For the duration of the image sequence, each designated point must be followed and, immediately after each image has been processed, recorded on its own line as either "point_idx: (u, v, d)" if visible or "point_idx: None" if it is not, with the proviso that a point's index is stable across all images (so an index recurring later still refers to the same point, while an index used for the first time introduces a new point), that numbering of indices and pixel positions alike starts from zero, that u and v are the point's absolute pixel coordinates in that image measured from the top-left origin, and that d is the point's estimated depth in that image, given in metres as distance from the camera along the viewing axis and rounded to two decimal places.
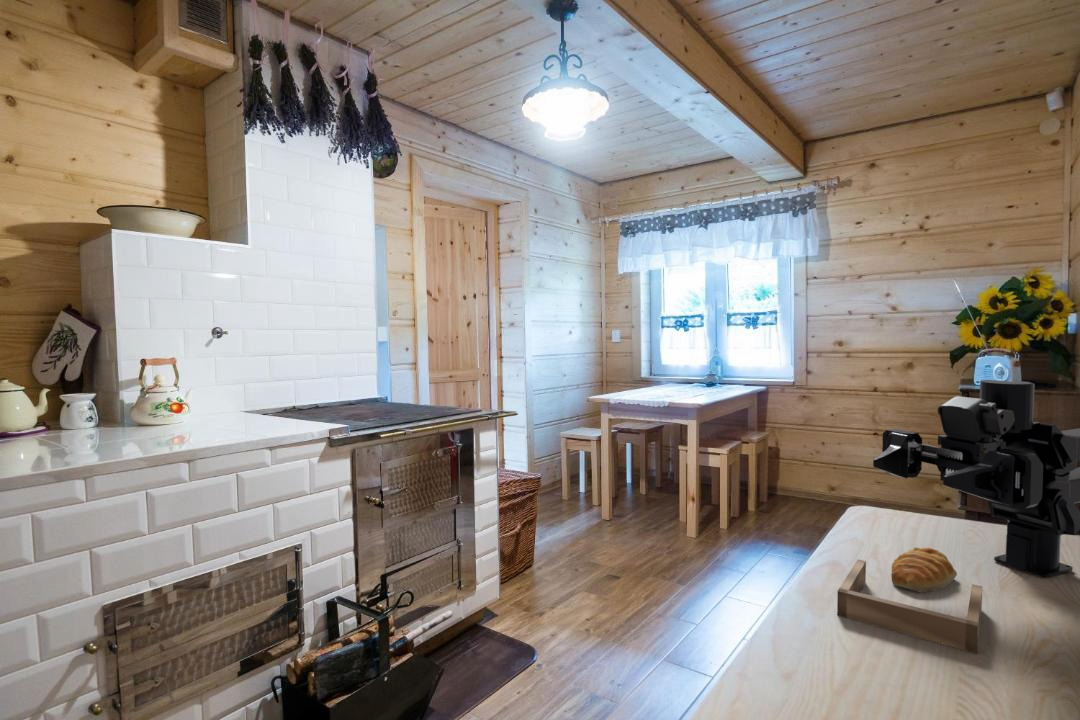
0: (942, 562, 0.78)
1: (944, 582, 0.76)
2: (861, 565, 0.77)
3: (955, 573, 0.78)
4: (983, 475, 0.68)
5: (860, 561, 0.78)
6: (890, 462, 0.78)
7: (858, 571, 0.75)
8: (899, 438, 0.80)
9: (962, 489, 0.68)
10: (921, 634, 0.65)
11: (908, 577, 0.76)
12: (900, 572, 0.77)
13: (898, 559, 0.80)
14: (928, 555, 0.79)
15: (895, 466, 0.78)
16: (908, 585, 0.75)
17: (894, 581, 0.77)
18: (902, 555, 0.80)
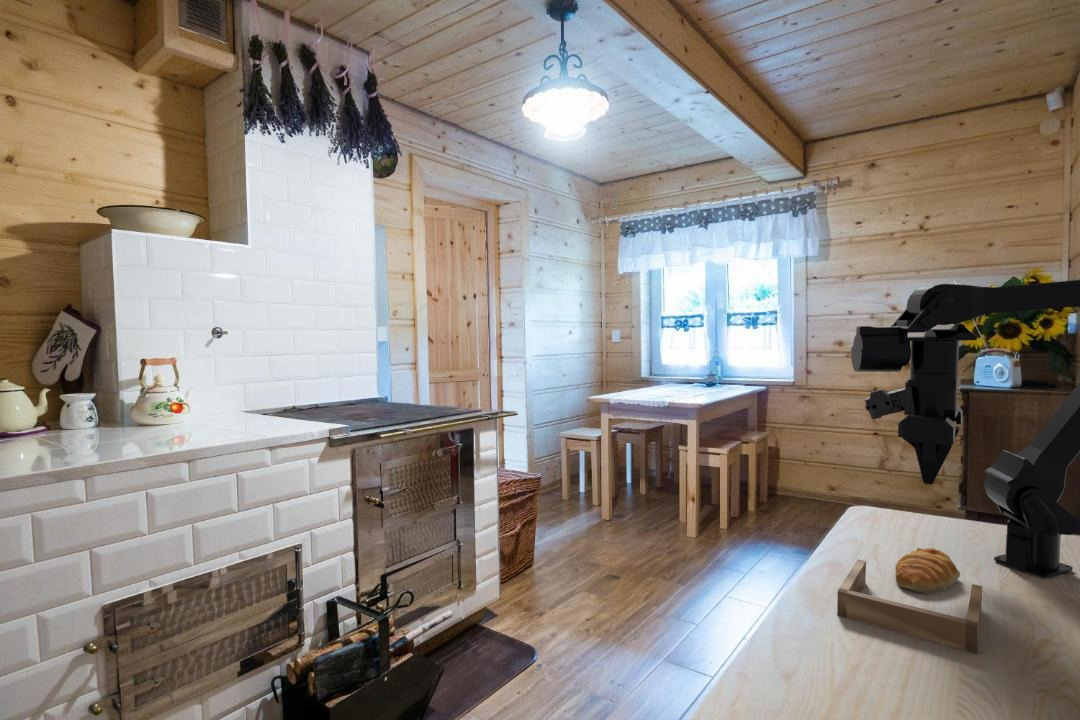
0: (946, 563, 0.77)
1: (948, 583, 0.76)
2: (861, 565, 0.77)
3: (958, 573, 0.78)
4: (924, 450, 0.81)
5: (860, 561, 0.78)
6: None
7: (858, 571, 0.75)
8: None
9: (936, 472, 0.81)
10: (921, 634, 0.65)
11: (913, 578, 0.75)
12: (905, 573, 0.77)
13: (902, 560, 0.80)
14: (932, 556, 0.79)
15: None
16: (913, 587, 0.75)
17: (899, 582, 0.77)
18: (906, 556, 0.80)
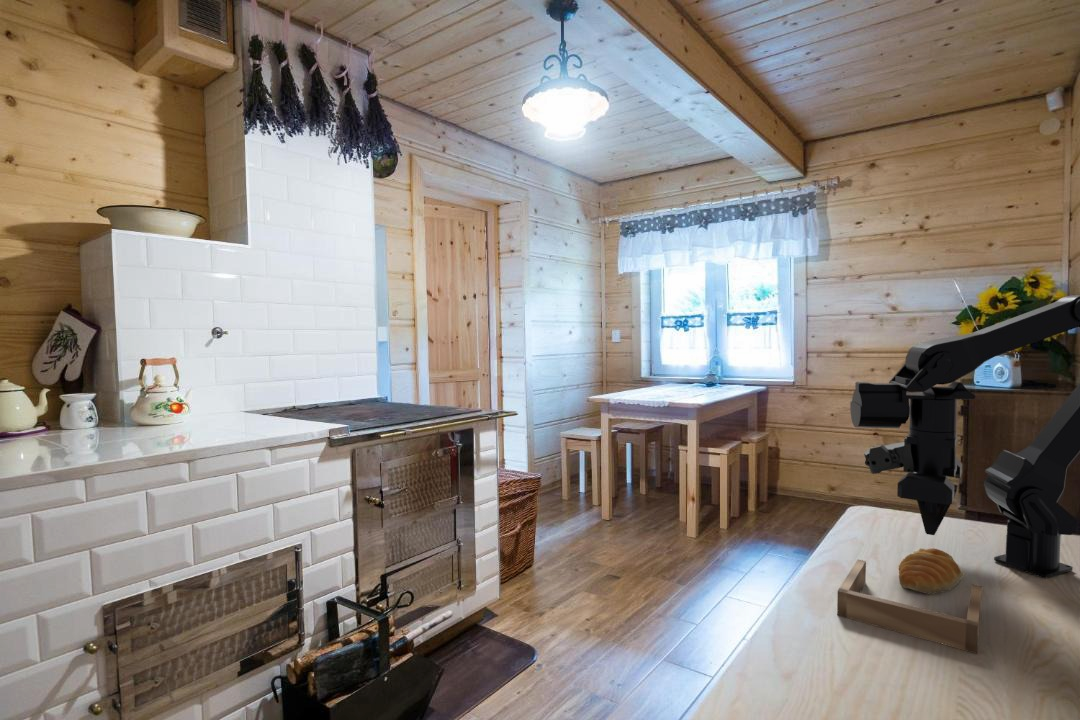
0: (949, 563, 0.77)
1: (952, 583, 0.76)
2: (861, 565, 0.77)
3: (962, 574, 0.78)
4: (926, 503, 0.84)
5: (860, 561, 0.78)
6: None
7: (858, 571, 0.75)
8: None
9: (938, 524, 0.84)
10: (921, 634, 0.65)
11: (917, 579, 0.75)
12: (908, 574, 0.76)
13: (905, 561, 0.80)
14: (935, 556, 0.78)
15: None
16: (917, 588, 0.75)
17: (902, 583, 0.77)
18: (909, 556, 0.80)
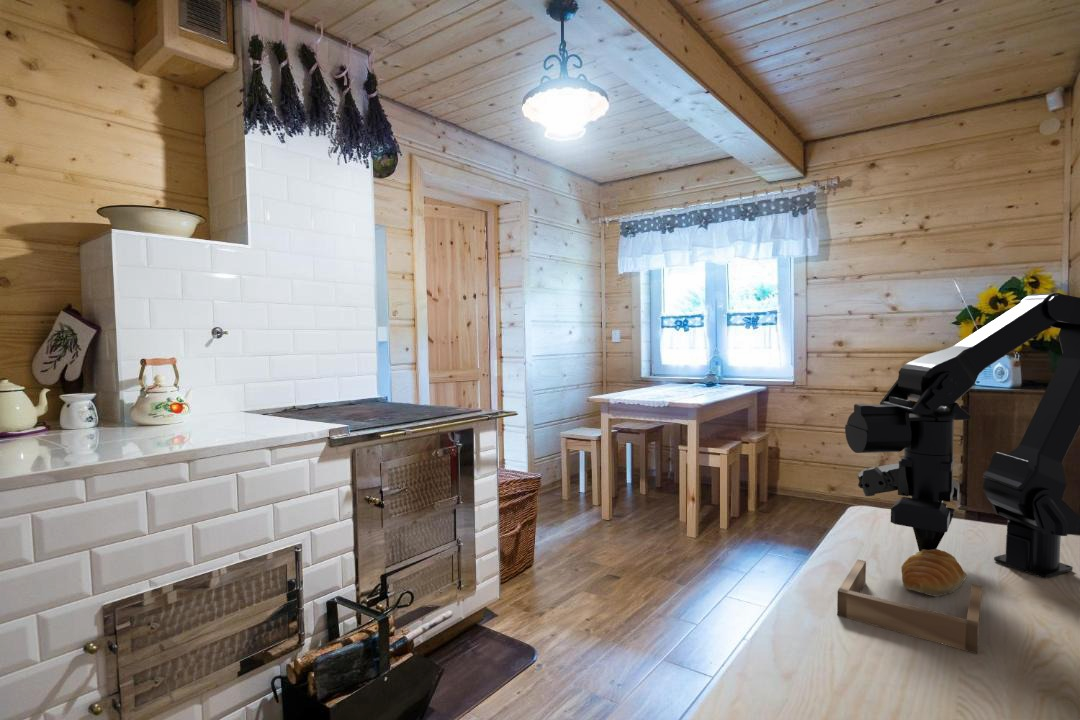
0: (953, 564, 0.76)
1: (956, 585, 0.75)
2: (861, 565, 0.77)
3: (965, 575, 0.77)
4: None
5: (860, 561, 0.78)
6: None
7: (858, 571, 0.75)
8: None
9: None
10: (921, 634, 0.65)
11: (921, 580, 0.74)
12: (912, 575, 0.75)
13: (908, 562, 0.79)
14: (938, 557, 0.77)
15: None
16: (921, 589, 0.74)
17: (906, 585, 0.76)
18: (912, 558, 0.79)
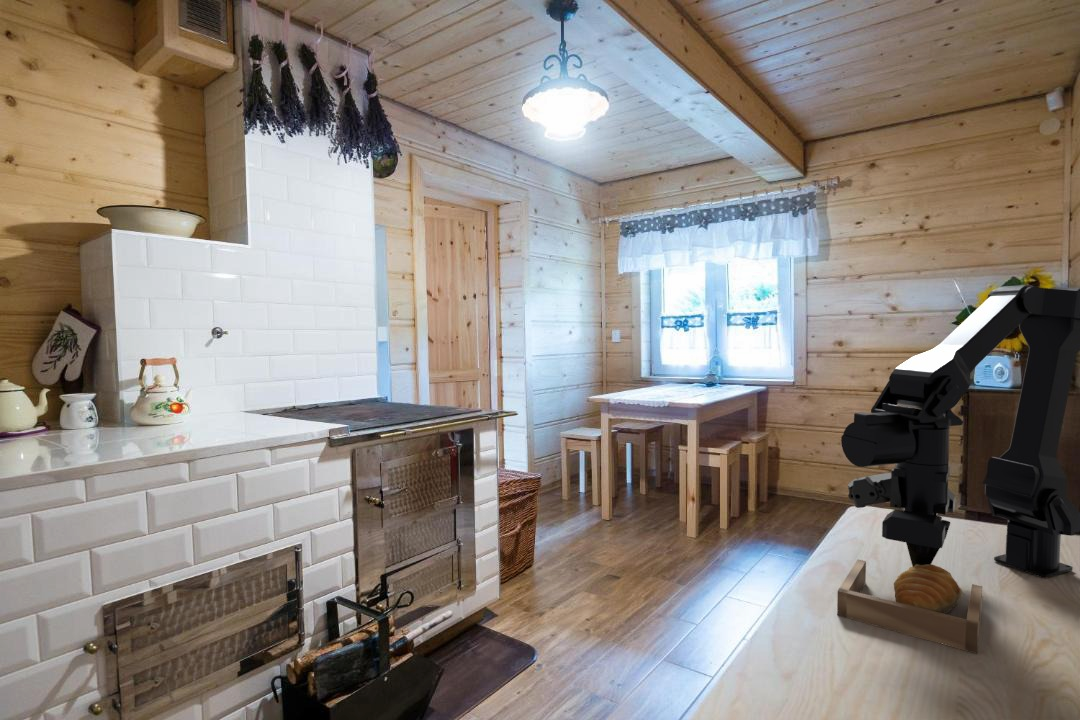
0: (948, 581, 0.72)
1: (952, 603, 0.70)
2: (861, 565, 0.77)
3: (961, 592, 0.72)
4: None
5: (860, 561, 0.78)
6: None
7: (858, 571, 0.75)
8: None
9: None
10: (921, 634, 0.65)
11: (915, 599, 0.69)
12: (906, 593, 0.70)
13: (901, 578, 0.74)
14: (933, 573, 0.73)
15: None
16: None
17: None
18: (905, 574, 0.74)
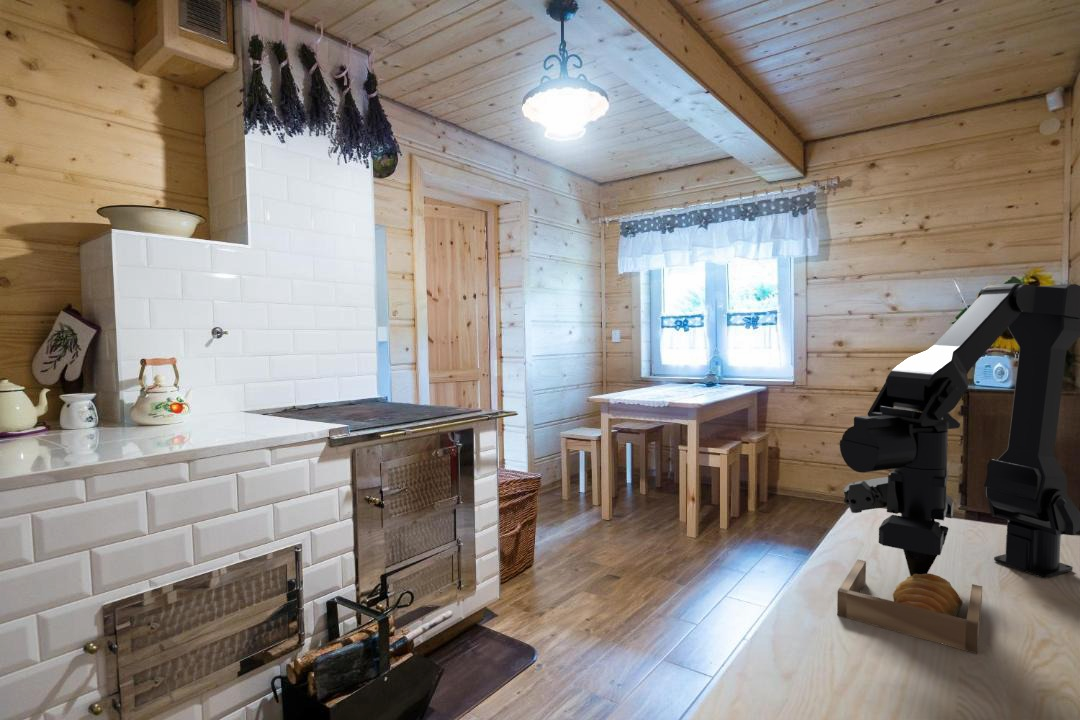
0: (949, 591, 0.70)
1: (954, 614, 0.68)
2: (861, 565, 0.77)
3: (961, 602, 0.70)
4: None
5: (860, 561, 0.78)
6: None
7: (858, 571, 0.75)
8: None
9: (926, 572, 0.74)
10: (921, 634, 0.65)
11: None
12: None
13: (900, 589, 0.72)
14: (933, 583, 0.71)
15: None
16: None
17: None
18: (904, 584, 0.72)
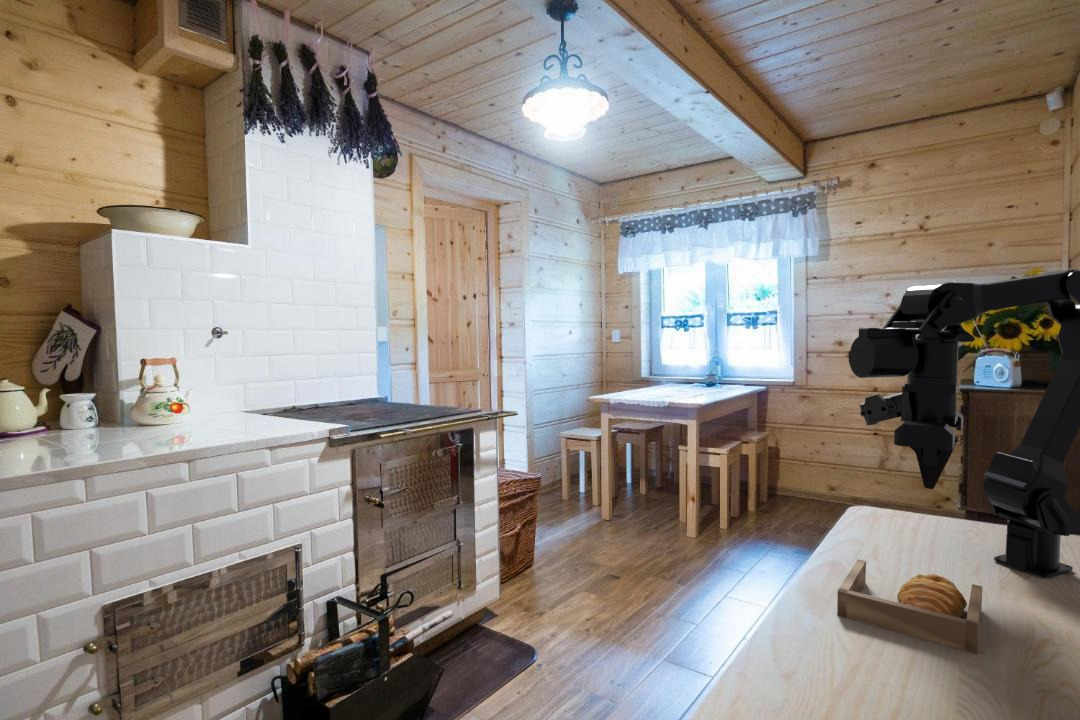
0: (953, 592, 0.69)
1: (959, 615, 0.68)
2: (861, 565, 0.77)
3: (965, 603, 0.70)
4: (925, 454, 0.79)
5: (860, 561, 0.78)
6: None
7: (858, 571, 0.75)
8: None
9: (938, 476, 0.79)
10: (921, 634, 0.65)
11: None
12: None
13: (905, 590, 0.71)
14: (937, 584, 0.70)
15: None
16: None
17: None
18: (908, 585, 0.71)
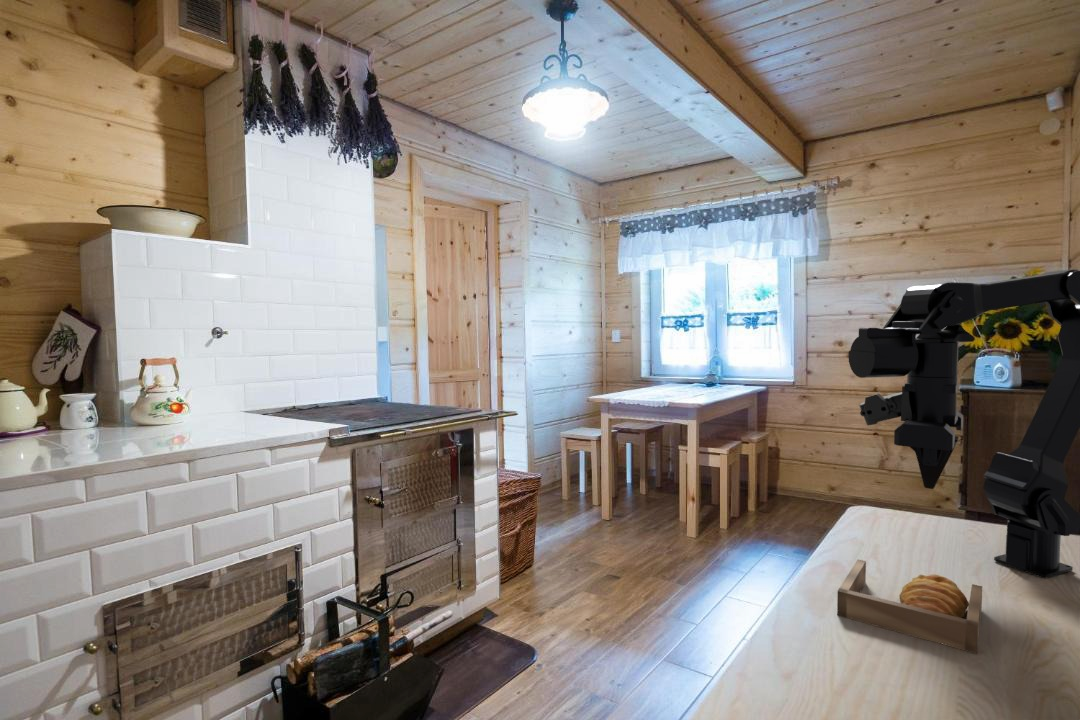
0: (956, 592, 0.69)
1: (961, 616, 0.67)
2: (861, 565, 0.77)
3: (967, 603, 0.70)
4: (925, 454, 0.79)
5: (860, 561, 0.78)
6: None
7: (858, 571, 0.75)
8: None
9: (938, 476, 0.79)
10: (921, 634, 0.65)
11: None
12: None
13: (907, 590, 0.71)
14: (939, 584, 0.70)
15: None
16: None
17: None
18: (911, 585, 0.71)
